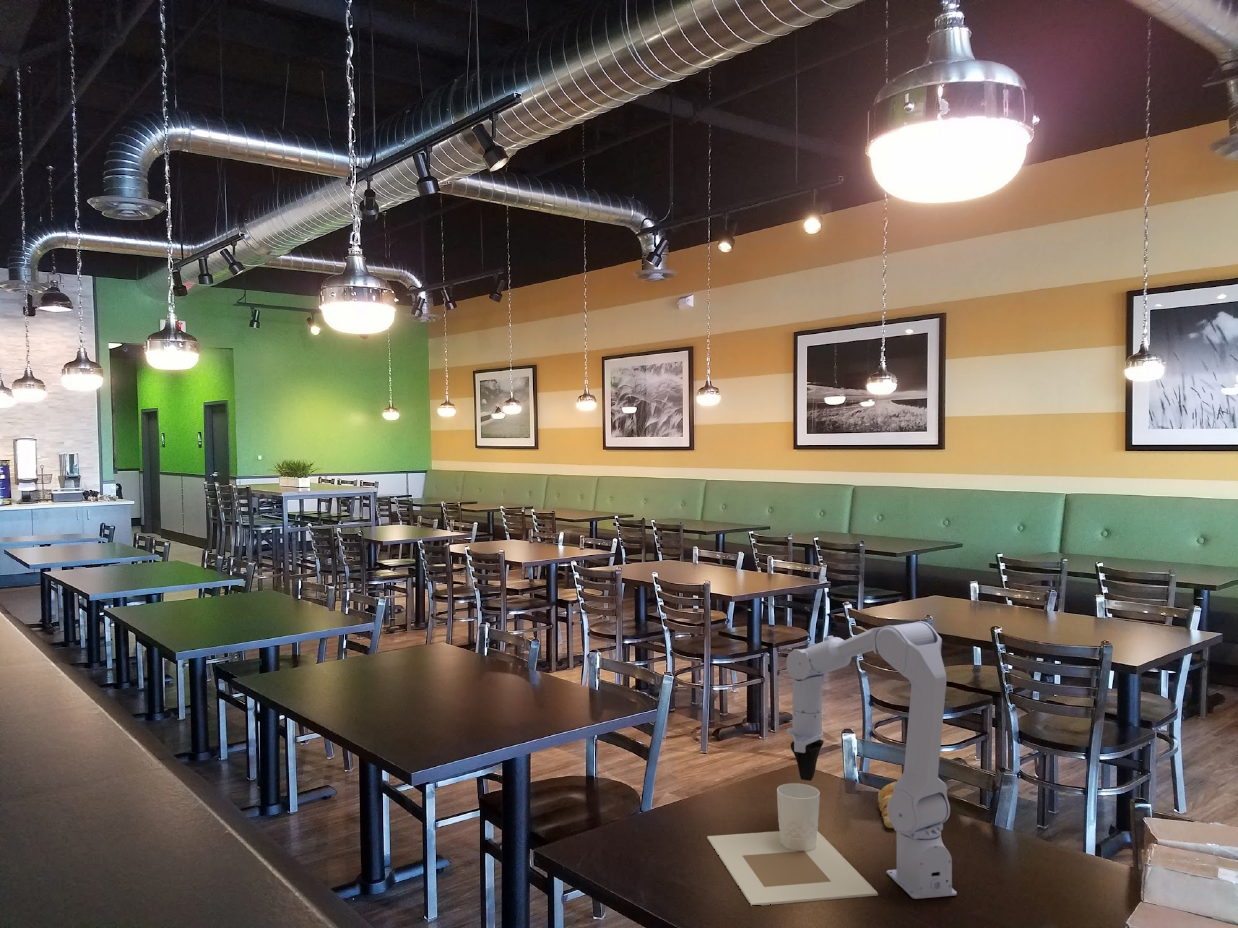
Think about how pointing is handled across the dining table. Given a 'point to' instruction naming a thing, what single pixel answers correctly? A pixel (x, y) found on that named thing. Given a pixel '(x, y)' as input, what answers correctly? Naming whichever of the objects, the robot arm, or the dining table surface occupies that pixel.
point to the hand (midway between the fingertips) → (807, 778)
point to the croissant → (885, 802)
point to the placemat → (787, 870)
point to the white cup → (798, 816)
